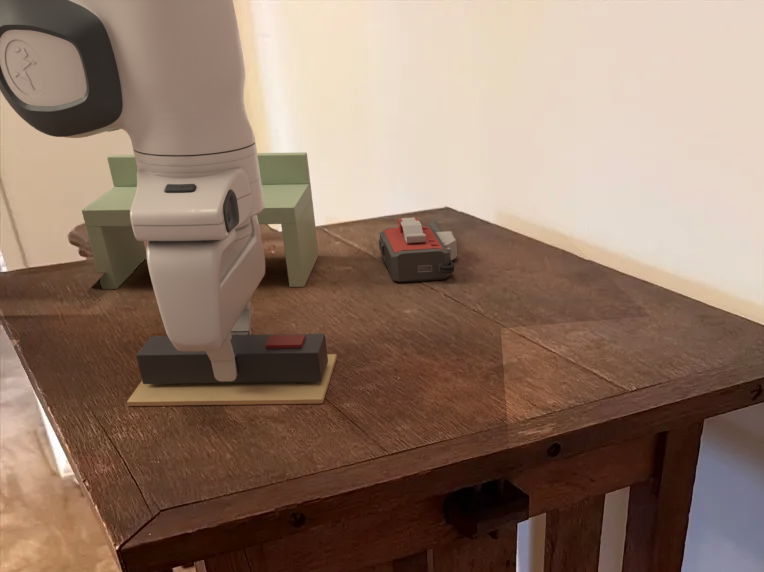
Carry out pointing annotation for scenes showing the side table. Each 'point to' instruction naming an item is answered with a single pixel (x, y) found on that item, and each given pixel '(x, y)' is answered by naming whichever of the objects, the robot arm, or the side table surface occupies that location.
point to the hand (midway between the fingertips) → (235, 365)
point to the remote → (255, 360)
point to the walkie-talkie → (418, 251)
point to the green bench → (282, 206)
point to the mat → (234, 392)
